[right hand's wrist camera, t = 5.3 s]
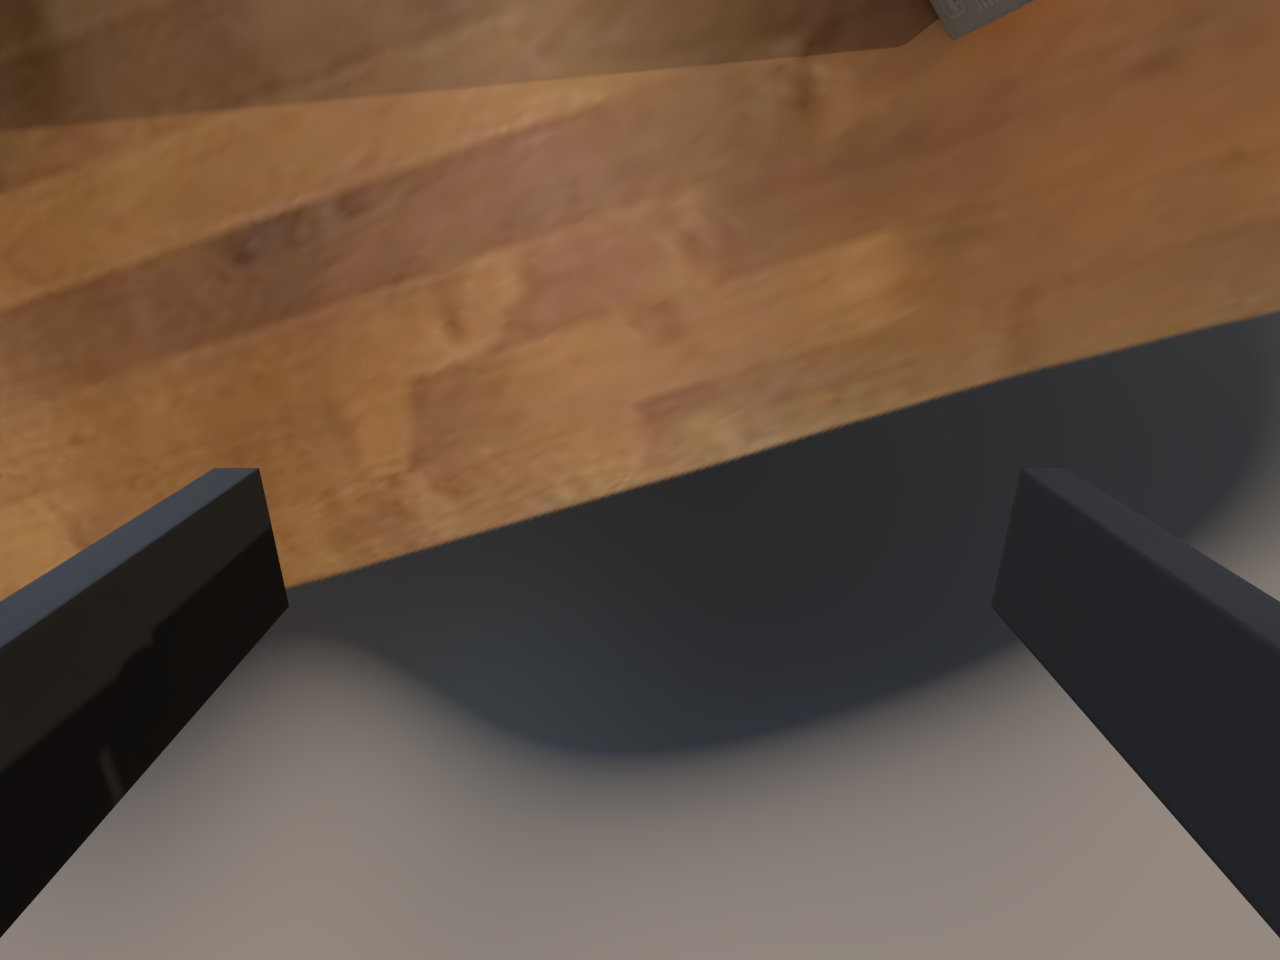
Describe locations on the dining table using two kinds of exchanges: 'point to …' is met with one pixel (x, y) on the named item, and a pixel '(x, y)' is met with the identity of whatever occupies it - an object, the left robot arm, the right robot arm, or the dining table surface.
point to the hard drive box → (972, 13)
